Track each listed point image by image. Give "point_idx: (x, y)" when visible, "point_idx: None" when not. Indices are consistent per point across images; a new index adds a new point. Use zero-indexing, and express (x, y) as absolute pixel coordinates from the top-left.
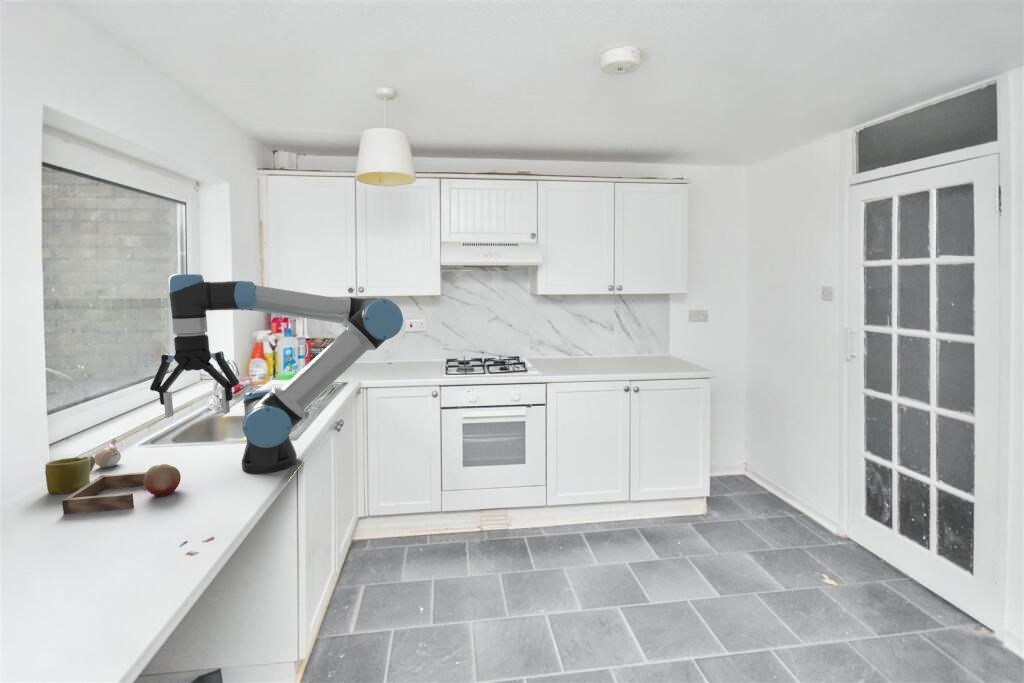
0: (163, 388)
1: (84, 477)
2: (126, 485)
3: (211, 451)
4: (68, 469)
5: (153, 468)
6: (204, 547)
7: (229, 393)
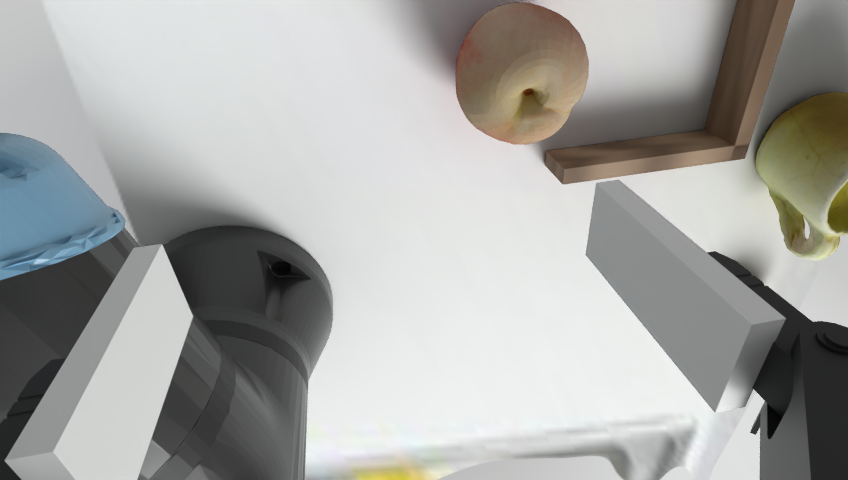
0: (829, 368)
1: (790, 152)
2: (648, 140)
3: (495, 397)
4: None
5: (561, 55)
6: None
7: (4, 434)
